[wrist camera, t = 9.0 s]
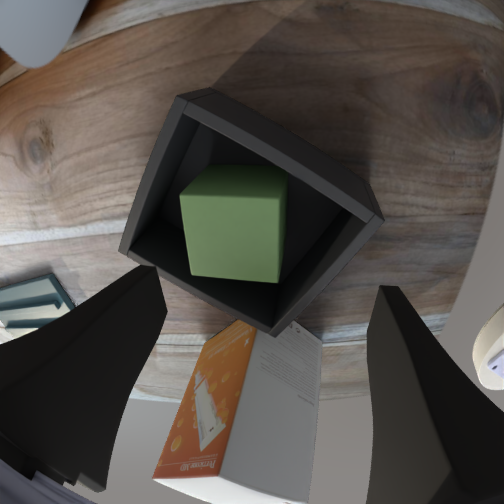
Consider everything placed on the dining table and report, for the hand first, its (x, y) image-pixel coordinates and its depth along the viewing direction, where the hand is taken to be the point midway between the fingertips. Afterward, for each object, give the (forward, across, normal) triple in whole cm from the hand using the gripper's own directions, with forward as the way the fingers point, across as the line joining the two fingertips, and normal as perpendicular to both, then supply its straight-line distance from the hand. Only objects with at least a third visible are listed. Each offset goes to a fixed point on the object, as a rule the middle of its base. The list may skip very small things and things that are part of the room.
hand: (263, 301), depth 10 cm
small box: (+10, +2, +13) cm, 16 cm away
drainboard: (+9, +29, +17) cm, 35 cm away
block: (+9, +2, 0) cm, 9 cm away
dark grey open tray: (+9, +2, +1) cm, 10 cm away
